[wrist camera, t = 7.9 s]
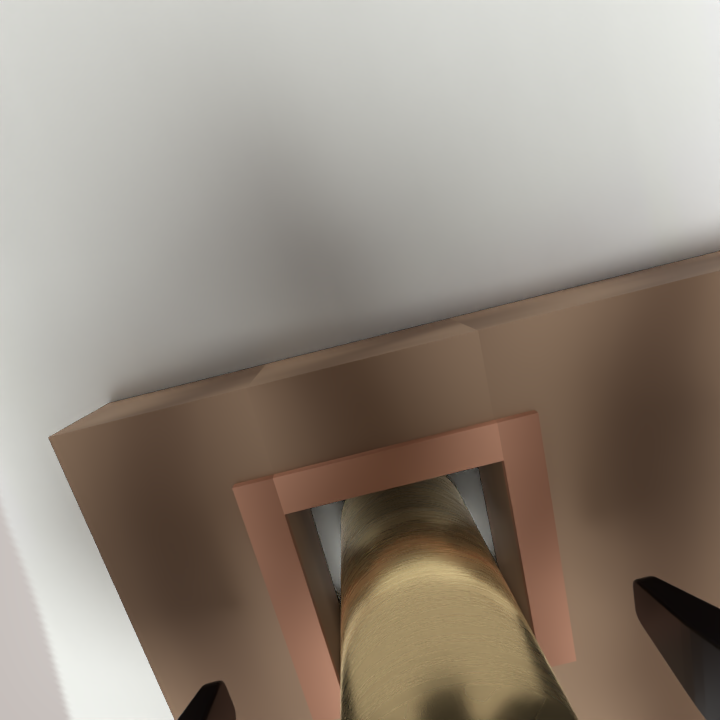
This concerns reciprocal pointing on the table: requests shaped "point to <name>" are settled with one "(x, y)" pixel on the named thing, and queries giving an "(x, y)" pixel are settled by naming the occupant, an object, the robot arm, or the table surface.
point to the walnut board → (417, 463)
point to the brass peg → (433, 617)
